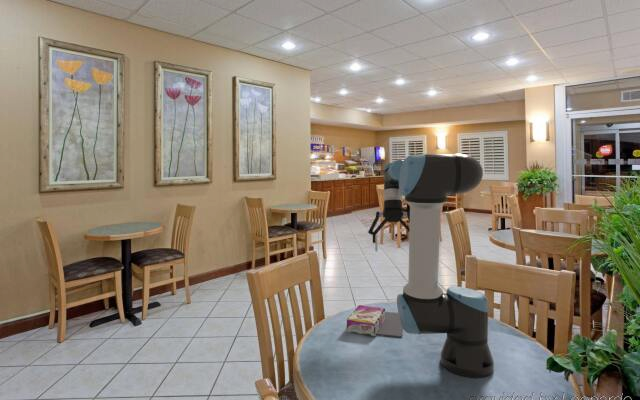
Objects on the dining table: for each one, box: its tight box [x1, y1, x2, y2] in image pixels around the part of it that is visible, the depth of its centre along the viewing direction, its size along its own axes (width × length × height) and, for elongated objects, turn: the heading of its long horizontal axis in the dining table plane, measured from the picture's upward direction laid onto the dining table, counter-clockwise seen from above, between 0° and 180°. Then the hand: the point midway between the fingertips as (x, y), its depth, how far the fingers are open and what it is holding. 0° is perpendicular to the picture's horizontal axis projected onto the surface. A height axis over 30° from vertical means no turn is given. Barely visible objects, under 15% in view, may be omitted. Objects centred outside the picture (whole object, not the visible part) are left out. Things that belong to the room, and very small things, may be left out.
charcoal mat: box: [357, 311, 404, 339], centre depth 143 cm, size 17×22×1 cm
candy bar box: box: [346, 304, 386, 337], centre depth 140 cm, size 11×5×16 cm
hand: (393, 251), depth 147 cm, fingers open, 13 cm apart
